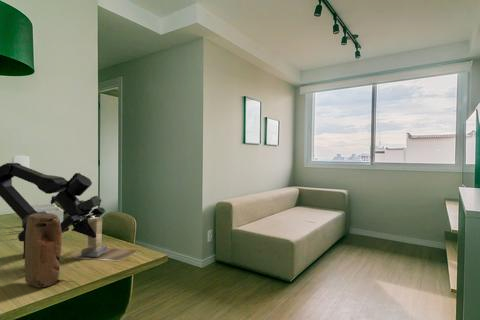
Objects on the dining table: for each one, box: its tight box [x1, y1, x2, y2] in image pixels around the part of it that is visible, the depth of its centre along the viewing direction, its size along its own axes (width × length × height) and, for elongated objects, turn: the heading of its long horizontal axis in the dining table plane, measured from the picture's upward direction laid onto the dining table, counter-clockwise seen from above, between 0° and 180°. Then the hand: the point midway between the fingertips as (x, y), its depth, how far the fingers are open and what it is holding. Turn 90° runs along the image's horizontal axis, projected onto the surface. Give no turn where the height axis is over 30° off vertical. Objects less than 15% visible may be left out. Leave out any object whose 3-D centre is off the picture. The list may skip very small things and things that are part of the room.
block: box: [24, 213, 63, 289], centre depth 82 cm, size 11×8×20 cm
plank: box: [68, 247, 138, 263], centre depth 102 cm, size 20×12×2 cm, turn 84°
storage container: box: [30, 203, 64, 223], centre depth 138 cm, size 25×11×11 cm, turn 43°
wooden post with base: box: [80, 216, 108, 257], centre depth 100 cm, size 6×6×13 cm
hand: (98, 235), depth 100 cm, fingers closed on wooden post with base, 3 cm apart
